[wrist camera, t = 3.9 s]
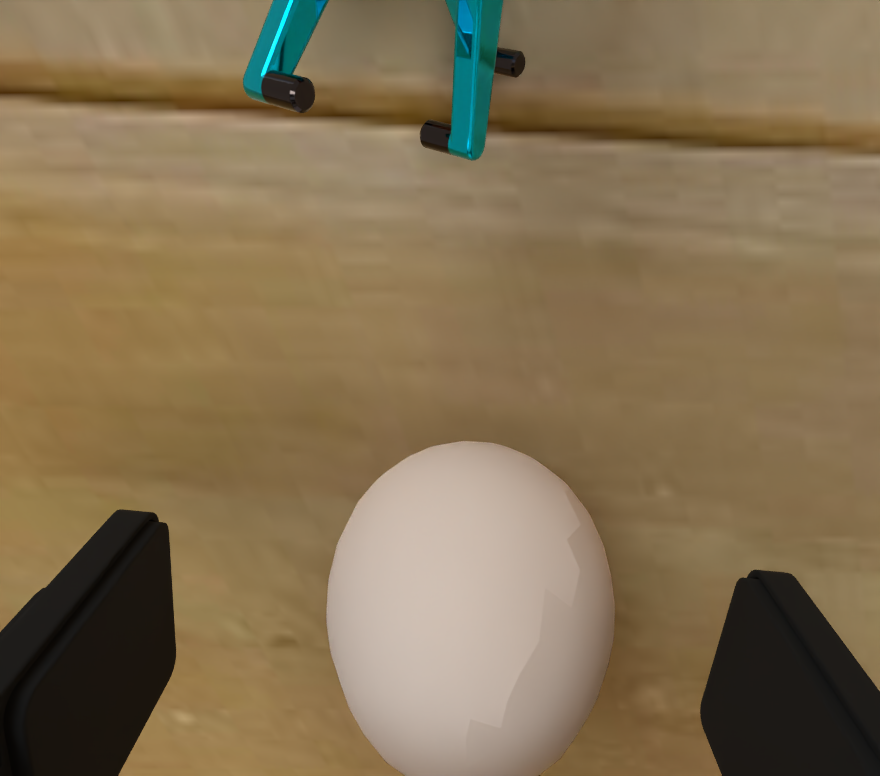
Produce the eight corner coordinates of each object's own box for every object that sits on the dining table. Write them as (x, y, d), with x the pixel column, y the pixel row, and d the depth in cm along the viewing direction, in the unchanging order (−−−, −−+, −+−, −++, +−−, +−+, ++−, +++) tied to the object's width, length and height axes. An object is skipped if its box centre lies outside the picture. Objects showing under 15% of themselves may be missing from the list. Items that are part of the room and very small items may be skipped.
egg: (313, 480, 15) (196, 735, 9) (490, 348, 14) (506, 534, 7) (452, 625, 16) (438, 941, 10) (627, 516, 15) (739, 799, 9)
